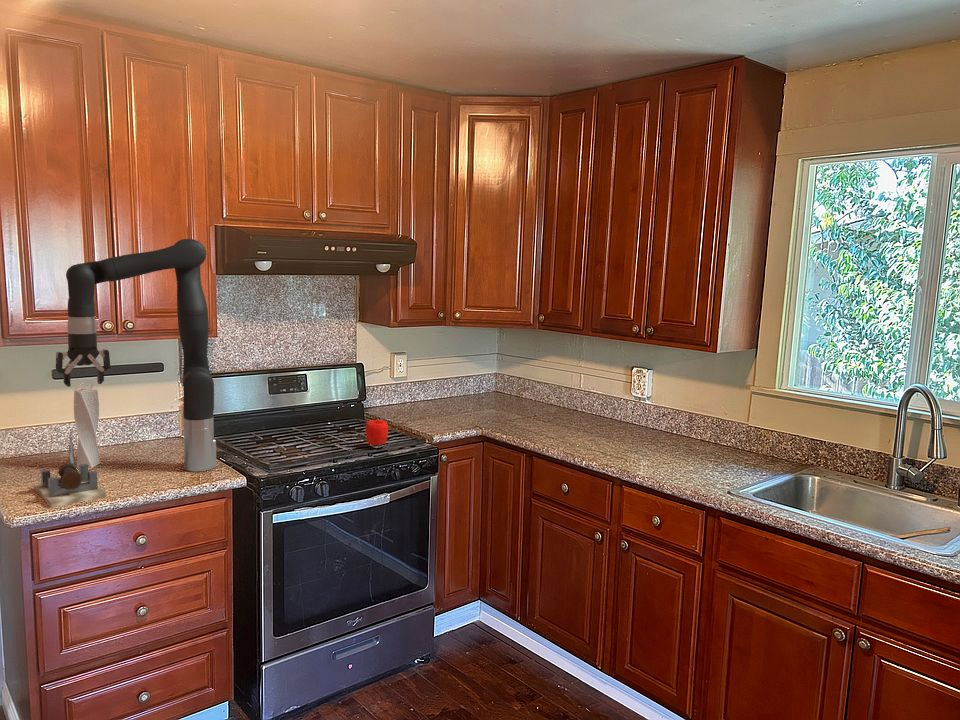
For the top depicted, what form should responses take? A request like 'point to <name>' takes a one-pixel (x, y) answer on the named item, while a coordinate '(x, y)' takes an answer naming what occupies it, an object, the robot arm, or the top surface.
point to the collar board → (68, 496)
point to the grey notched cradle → (54, 490)
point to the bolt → (69, 476)
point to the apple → (376, 432)
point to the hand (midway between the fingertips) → (84, 384)
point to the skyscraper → (85, 427)
